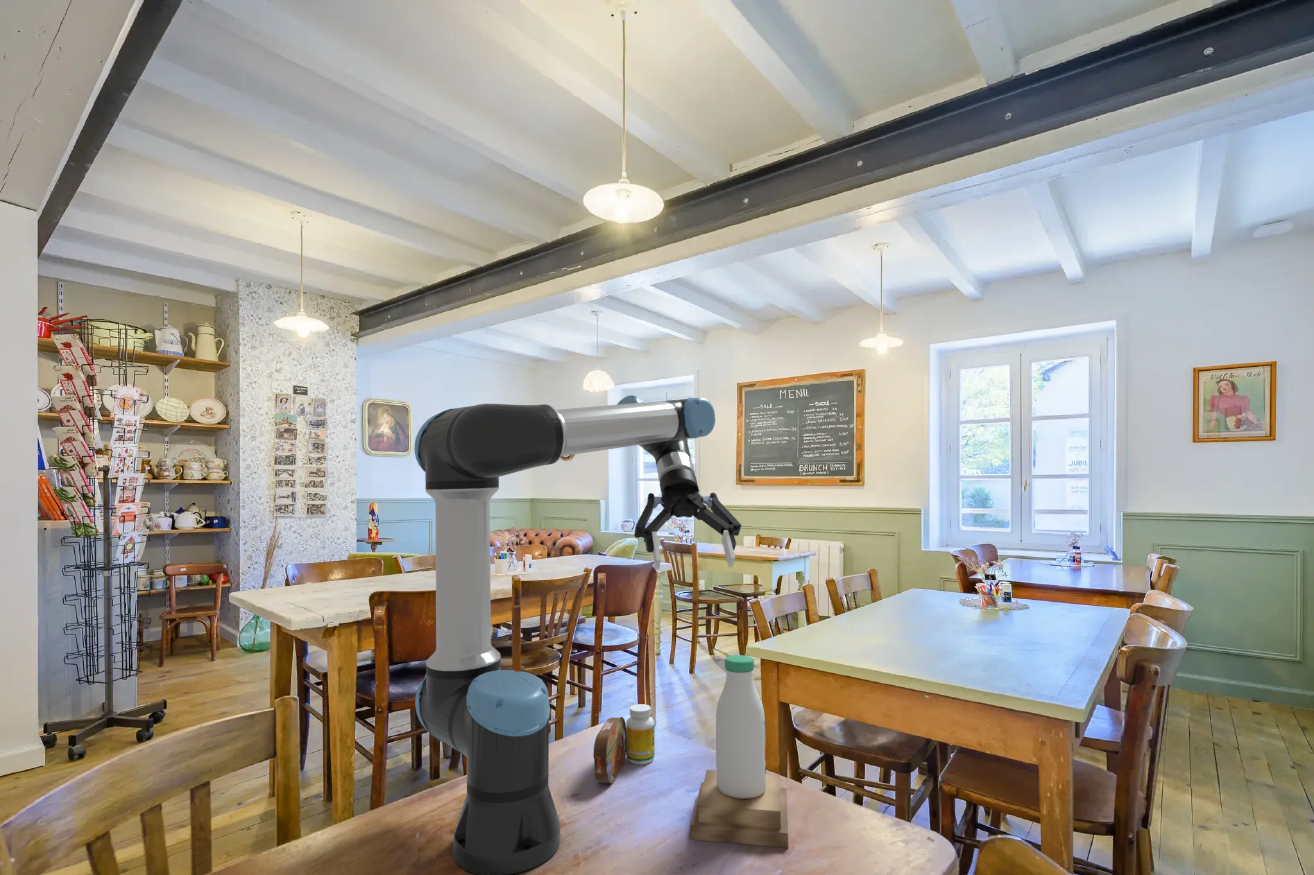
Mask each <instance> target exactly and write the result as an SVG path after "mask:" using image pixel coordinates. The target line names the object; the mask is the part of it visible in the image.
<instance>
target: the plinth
mask: <svg viewBox="0 0 1314 875" xmlns="http://www.w3.org/2000/svg"><path fill="white" fill-rule="evenodd" d="M787 798H788V797H787V788H786V787H781V774H775V773H774V774H773V773H772V774H771V773H766V789H765V792H764V793H763V794H762V795H760V796H758V797H755V798H750V799H739V798H733V797H729V796H726V795H725V794H723V793H722V792H720V790H719V789H718V786H717V773H716V770H715V769H706V770H705V776H704V779H703V781H701V783H700V786H699V790H698V795H697V799H696V802H695V803H696V804H695V806H694V811H693V815H692V816H693V817H692V819H691V824H690V833H691V834H690V840H697V841H708V842H717V843H718V842H719V843H729V844H730V843H731V844H740V845H741V844H742V845H753V846H762V847H763V846H765V847H776V848H786V849H789V820H788V819H789V818H788V800H787Z"/></svg>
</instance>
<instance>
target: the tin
mask: <svg viewBox="0 0 1314 875" xmlns="http://www.w3.org/2000/svg"><path fill="white" fill-rule="evenodd" d="M626 758H627V757H626V721H625V718H624V717H623V716H620V717H609V718H608V719H607V720H606V721H605V722H604V724H603V726H602V727H601V729H600V730H599V732H598V733H597V735H596V736H595V741H594V745H593V761H594V764H593V765H594V778H595V780H596V781H597V782H598V783H602V784H603V783H604V784H605V783H606V784H614V783H615V781H616V779H617V777H618V775H619V774H620V771H621V769H622V768H623V766H624V764H625V761H626Z"/></svg>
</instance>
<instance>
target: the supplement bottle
mask: <svg viewBox="0 0 1314 875" xmlns="http://www.w3.org/2000/svg"><path fill="white" fill-rule="evenodd" d="M629 715H630V717H629V718H628V719H627V720H626V722H625V724H626V757H625V758H626V760H627V762H628V763H631V764H633V765H639V766H640V765H641V766H642V765H643V766H644V765H647V764H650V763H652V762H653V761H654V760H655V740H656V739H655V737H656V735H655V733H656V732H655V730H656V729H655V728H656V726H655V724H656V723H655V720H654V718H653V717H652V716H651V715H652V708H651V706H650V705H649V704H644V703H643V704H642V703H641V704H640V703H638V704H632V705H631V706H630V707H629Z"/></svg>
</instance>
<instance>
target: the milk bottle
mask: <svg viewBox="0 0 1314 875" xmlns="http://www.w3.org/2000/svg"><path fill="white" fill-rule="evenodd" d="M724 668H725V669H724V673H725V674H726V678H725V682H724V687H723V689H722V692H721V693H720V696H719V697H718V698H719V699H718V701H717V704H716V706H717V707H716V714H715V753H716V754H715V759H716V760H715V763H716V764H715V766H716V767H715V768H716V773H717V786H718V789H719V790H720V792H722V793H723V794H725V795H726V796H729V797H733V798H739V799H750V798H755V797H758V796H760V795H762V794H763V793H764V792H765V789H766V774H767V751H766V750H767V748H766V747H767V746H766V744H767V743H766V719H765V711H764V705H763V702H762V700H761V696H760V694H759V692H758V690H757V688H756V685H755V682H754V681H755V680H754V675H753V674H755V670H754V669H755V660H754V657H752V656H748V655H741V654H734V655H729V656H727V657H725V659H724Z"/></svg>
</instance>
